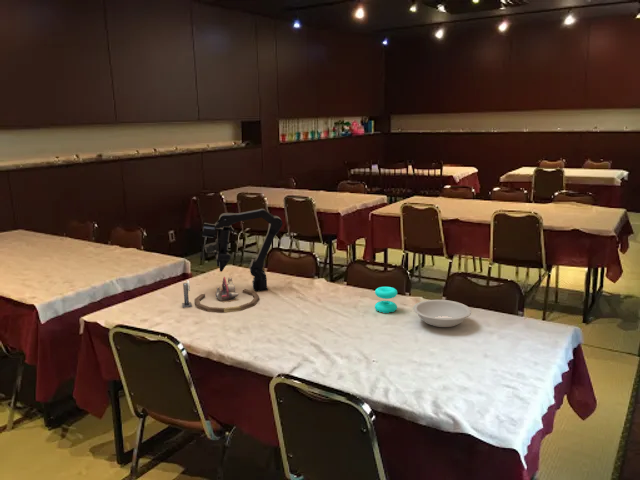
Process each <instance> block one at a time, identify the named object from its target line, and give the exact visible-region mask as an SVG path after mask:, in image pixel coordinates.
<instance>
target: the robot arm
mask: <svg viewBox="0 0 640 480" xmlns="http://www.w3.org/2000/svg"><path fill="white" fill-rule="evenodd" d="M259 218H260V219H263V220H265V221H266V222H267V223H268V229H267V233H266V235H265V237H264V240H263V242H262V245H261V247H260V248H259V251H258V254H257V256H256V257H255V259H254V258H251V262H249V263H250V264H249V265H248V266H249V271H250V275H251V276H252V277H253V280H252V288H253V291H254V292H264V291H268V290H269V289H268V283H267V281H268V278H267V274H266V270H264V263H265V259H266V258H267V255H268V252H269V251H270V248H271V245H272V243H273V242H274V239H275V237H276V235H277V234H278V233H279V231H280V230H281V228H282V227H283V224H284V223H283V221H282V219H281V218H280V217H279V216H278V215H273V214H272V213H271V212H268V211H267V210H266V209H265V208H260V209H253V210H247V211H243V212H238V213H237V212H235V213H234V212H224V213H221V214H220V215H219V218H218V220H217V221H215V223H208V222H204V223H203V228H202V235H201V236H202V237H203V238H215V237H217V238H216V239H215V242H210V243H207V244H204V246H203V247H204V250H205V253H207V254H210V253H211V252H213V254H214V255H215V260H216V266H217V267H219V272H221V273H222V272H223V271H224V269H225V268H226V266H227V265H228V263H229V261H230V260H231V254H230V253H229V245H230V240H229V239H230V232H234V231H235V229H234V227H232V225H234V224H236V223H240V222H244V221H249V220H254V219H259Z"/></svg>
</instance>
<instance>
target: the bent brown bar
mask: <svg viewBox="0 0 640 480" xmlns="http://www.w3.org/2000/svg"><path fill="white" fill-rule="evenodd" d="M241 293H243V294H246V295H248V296H252V297H253V299H252V300H251V301H250V302H247V303H244V304H241V305H237V306H236V305H235V306H227V307H218V306H217V307H216V306H215V307H214V306H209V305H205V304H202V303H201V301H202V300H204V299H205V298H206V294H205V293H200V294H199V295H198V296H197V297H195V298H194V305H195V308H196V309H198V310H202V311H205V312H209V313H210V312H211V313H231V312H240V311H243V310H246V309H249V308H252V307H255V306H256V305H257V303H258V302H259V301H260V295H259V294H258V293H257V291H255V290H250V289H247V288H243V289H242V292H241Z"/></svg>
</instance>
